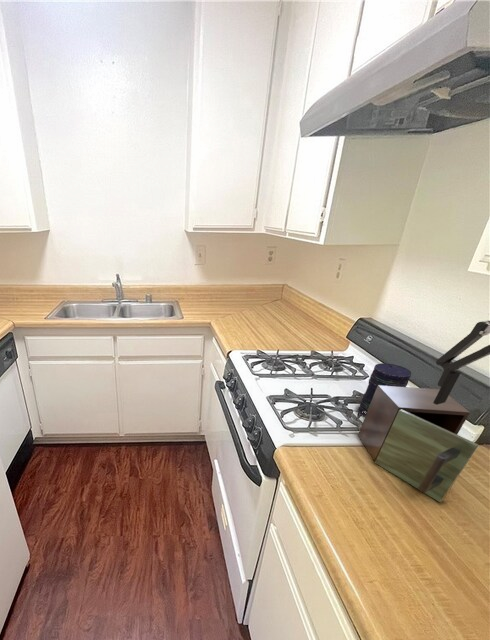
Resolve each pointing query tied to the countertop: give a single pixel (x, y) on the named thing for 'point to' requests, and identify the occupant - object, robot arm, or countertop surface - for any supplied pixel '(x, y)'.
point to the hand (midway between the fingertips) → (475, 419)
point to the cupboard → (411, 401)
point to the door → (424, 454)
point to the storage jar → (383, 381)
